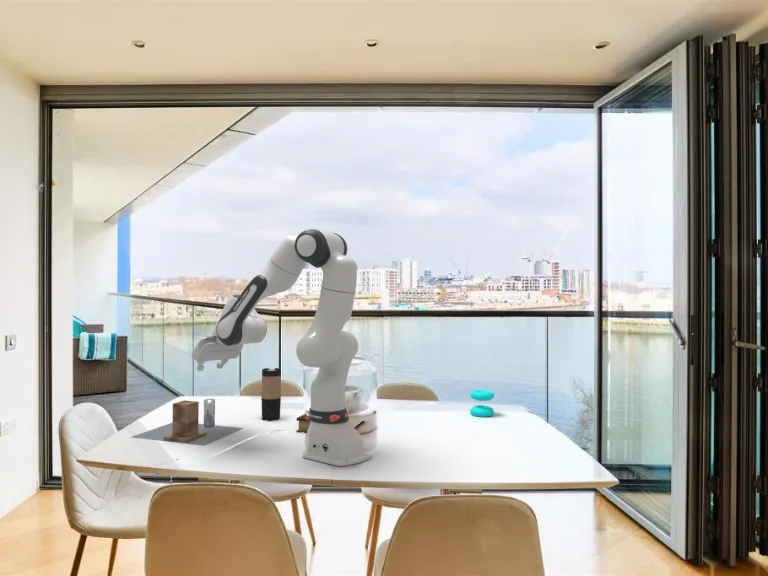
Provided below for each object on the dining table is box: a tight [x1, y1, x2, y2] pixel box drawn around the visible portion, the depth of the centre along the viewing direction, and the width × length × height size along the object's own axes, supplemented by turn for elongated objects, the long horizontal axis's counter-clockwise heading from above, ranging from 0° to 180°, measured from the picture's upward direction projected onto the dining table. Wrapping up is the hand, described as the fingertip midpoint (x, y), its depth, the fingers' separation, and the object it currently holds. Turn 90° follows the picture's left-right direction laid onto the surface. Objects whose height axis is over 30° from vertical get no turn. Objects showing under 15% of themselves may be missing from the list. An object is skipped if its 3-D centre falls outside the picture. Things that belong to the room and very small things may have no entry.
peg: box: [203, 398, 216, 428], centre depth 204 cm, size 4×4×10 cm
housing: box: [163, 400, 207, 443], centre depth 190 cm, size 10×10×12 cm
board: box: [131, 422, 245, 447], centre depth 196 cm, size 30×24×1 cm
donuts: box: [469, 389, 495, 418], centre depth 233 cm, size 10×10×10 cm
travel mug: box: [260, 367, 282, 422], centre depth 222 cm, size 8×8×20 cm
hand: (209, 368), depth 198 cm, fingers open, 8 cm apart
